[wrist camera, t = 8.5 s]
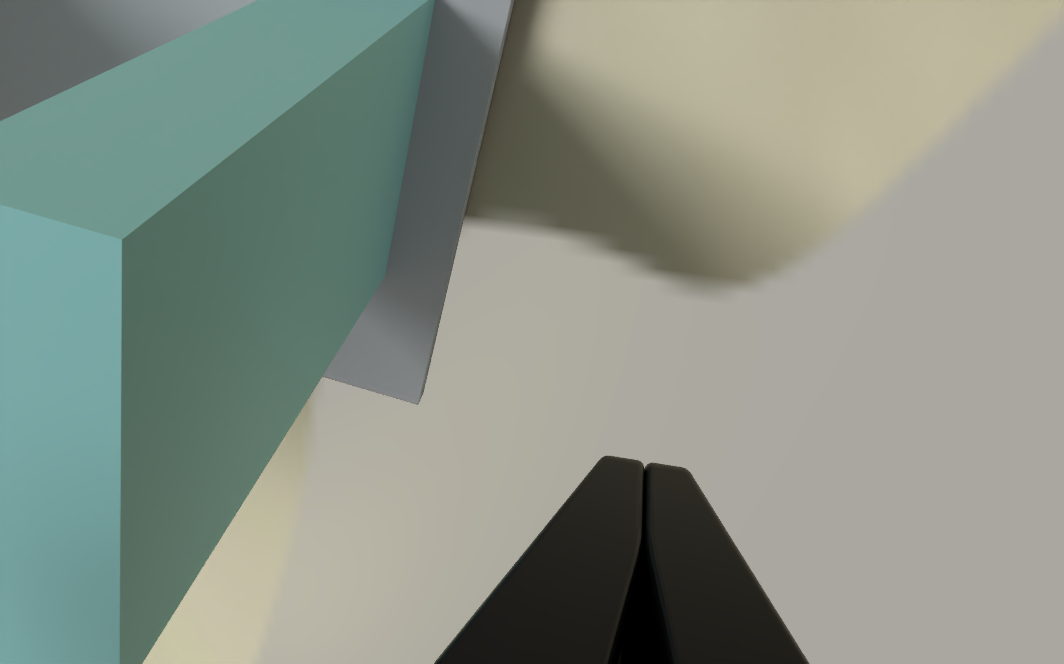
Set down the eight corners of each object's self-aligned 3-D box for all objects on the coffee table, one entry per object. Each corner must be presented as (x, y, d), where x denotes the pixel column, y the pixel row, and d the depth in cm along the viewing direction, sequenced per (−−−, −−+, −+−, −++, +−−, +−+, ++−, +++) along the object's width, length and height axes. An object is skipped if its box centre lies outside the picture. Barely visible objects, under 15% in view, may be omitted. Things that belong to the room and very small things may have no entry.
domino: (436, -7, 14) (121, 240, 6) (384, 276, 16) (120, 699, 9) (334, -36, 14) (-110, 172, 6) (299, 251, 16) (-43, 652, 9)
